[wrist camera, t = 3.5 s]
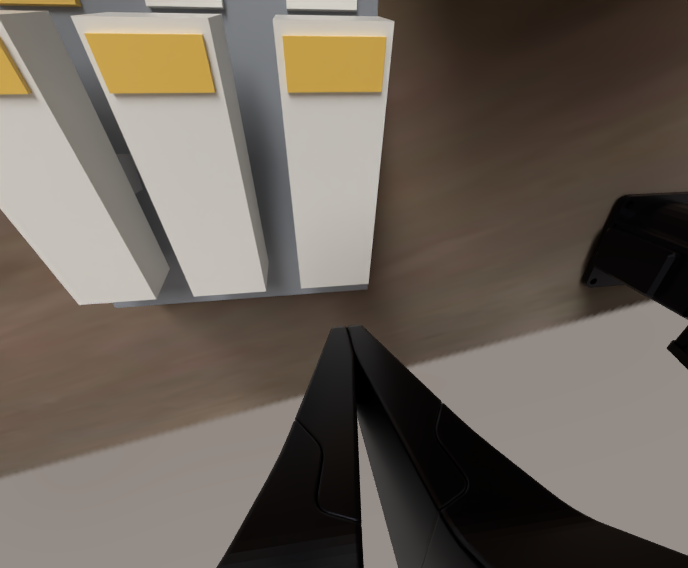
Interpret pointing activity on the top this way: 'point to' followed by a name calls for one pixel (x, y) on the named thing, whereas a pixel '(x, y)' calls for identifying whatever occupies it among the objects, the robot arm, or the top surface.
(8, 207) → the block
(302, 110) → the block
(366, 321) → the top surface
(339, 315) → the top surface
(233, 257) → the rocker middle
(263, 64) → the console
